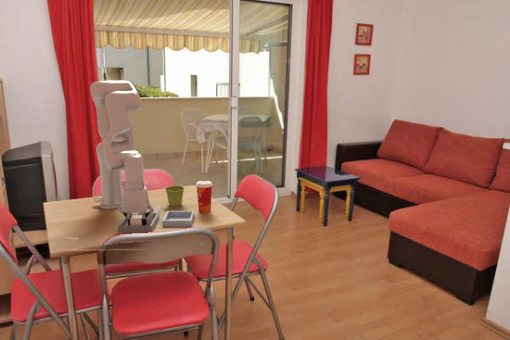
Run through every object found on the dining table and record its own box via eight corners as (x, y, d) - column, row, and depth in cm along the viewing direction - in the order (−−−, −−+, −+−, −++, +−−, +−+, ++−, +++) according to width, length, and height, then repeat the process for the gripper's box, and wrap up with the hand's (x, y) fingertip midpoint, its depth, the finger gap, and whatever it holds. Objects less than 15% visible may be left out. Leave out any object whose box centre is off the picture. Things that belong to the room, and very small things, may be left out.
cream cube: (130, 229, 164) (130, 219, 163) (133, 225, 169) (132, 215, 167) (141, 229, 164) (141, 219, 163) (144, 225, 169) (143, 215, 168)
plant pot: (187, 202, 201) (186, 185, 199) (182, 208, 192) (181, 191, 190) (169, 201, 202) (168, 185, 200) (163, 208, 192) (162, 190, 190)
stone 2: (142, 223, 171) (142, 213, 170) (143, 219, 175) (142, 209, 174) (153, 222, 172) (152, 212, 171) (154, 218, 176) (153, 209, 175)
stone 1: (129, 222, 172) (128, 213, 171) (133, 219, 176) (132, 210, 175) (138, 223, 171) (137, 214, 170) (141, 219, 175) (141, 211, 174)
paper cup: (197, 208, 192) (196, 180, 189) (213, 208, 193) (212, 180, 189) (196, 214, 184) (195, 184, 181) (212, 213, 185) (212, 184, 182)
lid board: (124, 218, 178) (124, 214, 178) (132, 208, 192) (132, 204, 191) (155, 218, 179) (155, 214, 178) (161, 207, 192) (161, 204, 192)
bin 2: (162, 227, 168) (162, 220, 168) (167, 217, 180) (167, 211, 179) (191, 227, 169) (191, 220, 168) (194, 217, 181) (194, 210, 180)
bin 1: (118, 233, 162) (117, 226, 161) (128, 219, 177) (128, 212, 177) (152, 233, 162) (151, 226, 162) (159, 219, 178) (159, 212, 177)
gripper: (110, 187, 158) (114, 230, 162) (154, 187, 159) (156, 230, 163) (116, 182, 165) (119, 223, 170) (157, 182, 166) (159, 223, 170)
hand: (137, 226), depth 166 cm, fingers closed on cream cube, 4 cm apart
